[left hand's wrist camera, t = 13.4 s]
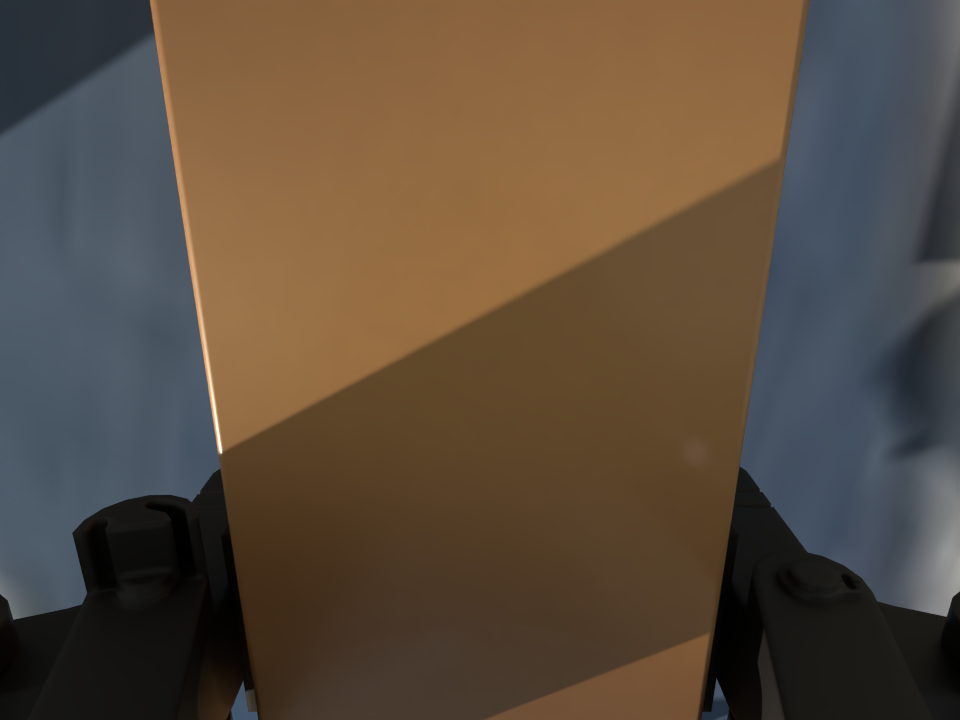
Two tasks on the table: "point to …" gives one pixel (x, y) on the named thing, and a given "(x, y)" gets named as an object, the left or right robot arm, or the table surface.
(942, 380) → the table surface
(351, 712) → the plank
